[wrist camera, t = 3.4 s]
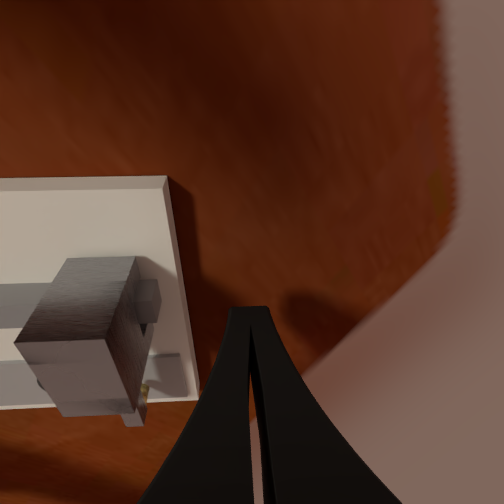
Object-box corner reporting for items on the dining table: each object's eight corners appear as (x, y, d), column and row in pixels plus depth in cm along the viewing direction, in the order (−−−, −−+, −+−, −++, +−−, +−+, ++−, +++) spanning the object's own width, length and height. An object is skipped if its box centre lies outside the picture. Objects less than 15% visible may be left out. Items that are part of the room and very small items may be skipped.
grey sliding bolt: (168, 384, 17) (155, 465, 14) (121, 386, 17) (98, 468, 14) (135, 256, 12) (104, 339, 9) (67, 257, 12) (13, 343, 9)
